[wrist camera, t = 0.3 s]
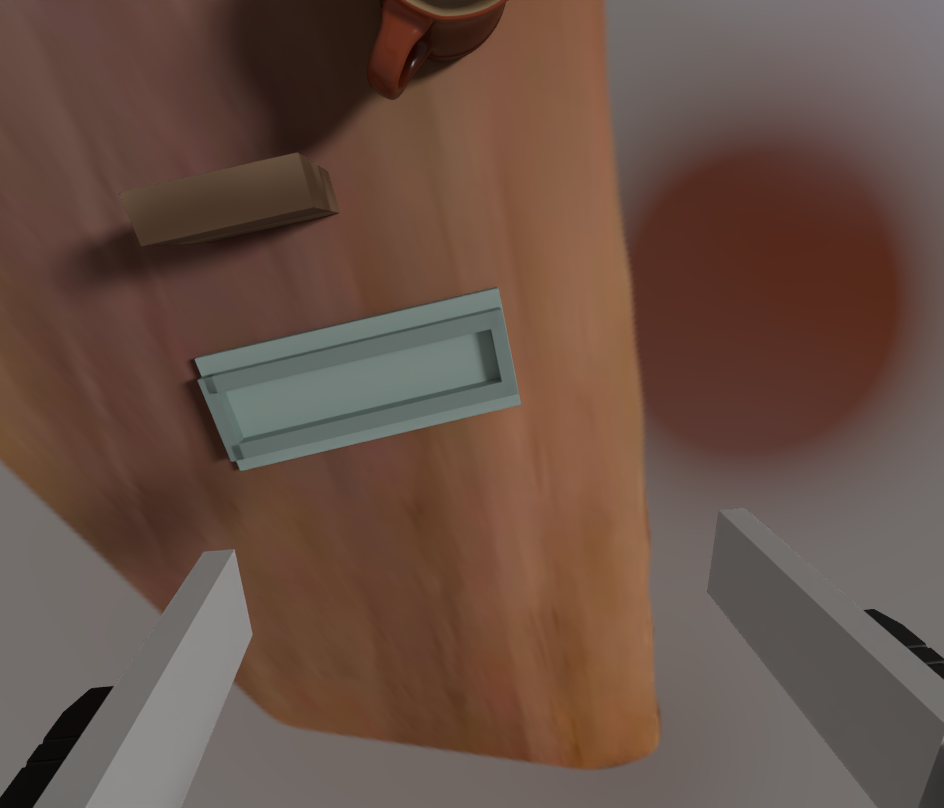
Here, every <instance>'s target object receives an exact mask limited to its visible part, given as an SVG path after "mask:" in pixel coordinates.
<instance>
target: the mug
mask: <svg viewBox="0 0 944 808" xmlns="http://www.w3.org/2000/svg"><path fill="white" fill-rule="evenodd" d="M506 1H508V0H380V3H381V6H382V20H381V25H380V29H379V32H378V35H377V37H376V40H375V43H374V45H373V48H372V51H371V55H370V58H369V62H368V68H367V77H368V82H369V84H370V86H371V88H372V89H373V90H374V91H375V92H377V93H378V94H380V95H381V96H383V97H385V98H387V99H390V100H395V99H397V98H398V97H399V96H400V95H401V94H402V92H403V91H404V90H405V88H406V86H407V84H408V83H409V81H410V79H411V78H412V76H413V75H414V74H415V72H416V71H417V70H418V69H419V68H420V67H421V65H422V64H423V63H424V61H425V60H426V58H427V59H430V60H432V61H437V62H444V61H452V60H456V59H459V58H462V57H464V56H466V55H468V54H470V53H472V52H473V51H475V50H476V49H477V48H479V47H480V46H481V45H482V44H483V43H484V42H485V41H486V40H487V39H488V37H489V36H490V35H491V34H492V32H493V31H494V29H495V28H496V26H497V24H498V23H499V21H500V18H501V16H502V14H503V10H504V7H505V3H506Z"/></svg>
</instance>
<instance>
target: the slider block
mask: <svg viewBox="0 0 944 808" xmlns="http://www.w3.org/2000/svg"><path fill="white" fill-rule="evenodd" d="M119 195H120V197H121V199H122V202H123V204H124V207H125V209H126V212H127V214H128V216H129V219H130V221H131V224H132V226H133V228H134V231H135V233H136V236H137V238H138V240H139V243H140V245H141V246H159V245H176V244H194V243H210V242H214V241H218V240H223V239H227V238H232V237H236V236H240V235H245V234H249V233H254V232H258V231H262V230H267V229H271V228H275V227H280V226H284V225H289V224H293V223H297V222H302V221H306V220H310V219H315V218H319V217H324V216H328V215H332V214H337V213H340V212H339V209H338V205H337V202H336V198H335V195H334V191H333V188H332V184H331V181H330V177H329V174H328V172H327V171H326V170H324V169H323V168H321V167H320V166H318V165H316V164H315V163H313V162H312V161H310V160H309V159H307V158H305V157H304V156H302V155H301V154H299V153H298V152H297V153H293V154H288V155H284V156H279V157H275V158H270V159H266V160H262V161H257V162H253V163H248V164H244V165H239V166H235V167H230V168H226V169H222V170H217V171H213V172H208V173H204V174H199V175H195V176H191V177H186V178H182V179H177V180H173V181H168V182H164V183H159V184H155V185H151V186H146V187H142V188H137V189H133V190H128V191H124V192H120V193H119Z"/></svg>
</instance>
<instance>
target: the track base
mask: <svg viewBox="0 0 944 808" xmlns="http://www.w3.org/2000/svg"><path fill="white" fill-rule="evenodd" d="M195 362H196V364H197V367H198V369H199V371H200V374H201V376H202V377H201V378H200V379H198V380H197V381H198V383H199V385H200V388H201V390H202V393H203V395H204V397H205V400H206V402H207V405H208V407H209V410H210V412H211V414H212V417H213V419H214V422H215V424H216V426H217V429H218V431H219V434H220V436H221V438H222V441H223V443H224V446H225V448H226V451H227V453H228V455H229V458H230V460H231V462H233V461H236V462H237V464H238V466H239V469H240V471H243V470H247V469H251V468H255V467H259V466H264V465H268V464H272V463H276V462H281V461H285V460H289V459H293V458H297V457H302V456H306V455H310V454H314V453H318V452H323V451H327V450H331V449H335V448H339V447H344V446H348V445H352V444H356V443H361V442H365V441H369V440H373V439H377V438H382V437H386V436H390V435H394V434H398V433H403V432H407V431H411V430H415V429H420V428H424V427H428V426H432V425H436V424H441V423H445V422H449V421H453V420H457V419H462V418H466V417H470V416H474V415H479V414H483V413H487V412H491V411H495V410H500V409H504V408H508V407H512V406H516V405H521V401H520V396H519V391H518V386H517V381H516V376H515V371H514V366H513V361H512V355H511V350H510V345H509V340H508V335H507V330H506V325H505V320H504V314H503V309H502V304H501V299H500V294H499V289H498V287H494V288H490V289H486V290H482V291H477V292H473V293H469V294H464V295H460V296H456V297H451V298H447V299H443V300H439V301H434V302H430V303H426V304H421V305H417V306H413V307H408V308H404V309H400V310H396V311H391V312H387V313H383V314H378V315H374V316H370V317H365V318H361V319H357V320H353V321H348V322H344V323H340V324H335V325H331V326H327V327H322V328H318V329H314V330H310V331H305V332H301V333H297V334H292V335H288V336H284V337H279V338H275V339H271V340H267V341H262V342H258V343H254V344H249V345H245V346H241V347H236V348H232V349H228V350H224V351H219V352H215V353H211V354H206V355H202V356H198V357H197V358H195Z"/></svg>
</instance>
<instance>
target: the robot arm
mask: <svg viewBox="0 0 944 808" xmlns="http://www.w3.org/2000/svg"><path fill="white" fill-rule="evenodd" d="M707 592H708V593H709V595H710V596H711V597H712V598H713V600H714V601H715V602H716V604H717V605H718V606H719V607H720V609H721V610H722V611H723V612H724V614H725V615H726V616H727V618H728V619H729V620H730V621H731V623H732V624H733V625H734V626H735V628H736V629H737V630H738V631H739V633H740V634H741V635H742V637H743V638H744V639H745V640H746V642H747V643H748V644H749V645H750V647H751V648H752V649H753V650H754V652H755V653H756V654H757V655H758V657H759V658H760V659H761V661H762V662H763V663H764V664H765V666H766V667H767V668H768V669H769V671H770V672H771V673H772V674H773V676H774V677H775V678H776V680H778V682H779V683H780V684H781V686H782V687H783V688H784V690H785V691H786V692H787V693H788V695H789V696H790V697H791V699H792V700H793V701H794V702H795V704H796V705H797V706H798V707H799V709H800V710H801V711H802V712H803V714H804V715H805V716H806V718H807V719H808V720H809V721H810V723H811V724H812V725H813V726H814V728H815V729H816V730H817V731H818V733H819V734H820V735H821V737H822V738H823V739H824V740H825V742H826V743H827V744H828V745H829V747H830V748H831V749H832V750H833V752H834V753H835V754H836V756H837V757H838V758H839V759H840V760H841V762H842V763H843V764H844V766H845V767H846V768H847V769H848V771H849V772H850V773H851V774H852V776H853V777H854V778H855V780H856V781H857V782H858V783H859V785H860V786H861V787H862V788H863V790H864V791H865V792H866V793H867V795H868V796H869V797H870V799H871V800H872V801H873V802H874V804H875V805H876V806H877V807H878V808H944V658H942V657H941V656H940V655H939V654H938V653H936V652H935V651H934V650H933V649H932V648H927V646H926V644H925V643H924V642H923V641H922V640H920V639H919V638H918V637H917V636H916V635H914V634H913V633H912V632H911V631H909V630H908V629H907V628H906V627H905V626H903V625H902V624H900V623H898V622H897V621H895V620H893V619H891V618H889V617H888V616H886V615H884V614H882V613H880V612H878V611H877V610H875V609H869V610H862V609H861V608H860V607H859V606H858V605H857V604H855V603H854V602H853V601H852V600H851V599H849V598H848V597H847V596H846V595H845V594H844V593H843V592H841V591H840V590H839V589H838V588H837V587H836V586H834V585H833V584H832V583H831V582H830V581H829V580H827V579H826V578H825V577H824V576H823V575H821V573H819V572H818V571H817V570H816V569H815V568H814V567H812V566H811V565H810V564H809V563H808V562H807V561H805V560H804V559H803V558H802V557H801V556H799V554H797V553H796V552H795V551H794V550H793V549H792V548H790V547H789V546H788V545H787V544H786V543H785V542H783V541H782V540H781V539H780V538H779V537H778V536H776V535H775V534H774V533H773V532H772V531H771V530H769V529H768V528H767V527H766V526H765V525H764V524H763V523H761V522H760V521H759V520H758V519H757V518H755V517H754V516H753V515H752V514H751V513H750V512H749V511H747V510H746V509H745V508H741V509H729V510H719V512H718V519H717V526H716V533H715V540H714V548H713V555H712V561H711V569H710V576H709V583H708V591H707ZM251 637H252V630H251V625H250V621H249V616H248V611H247V606H246V602H245V597H244V592H243V588H242V583H241V578H240V574H239V569H238V564H237V559H236V555H235V550H221V551H209V552H203V554H202V555H201V557H200V558H199V560H198V561H197V563H196V564H195V566H194V567H193V569H192V570H191V572H190V573H189V575H188V576H187V578H186V579H185V581H184V582H183V584H182V585H181V587H180V588H179V590H178V591H177V593H176V594H175V596H174V597H173V599H172V600H171V602H170V603H169V605H168V606H167V608H166V609H165V611H164V612H163V614H162V615H161V617H160V618H159V620H158V621H157V623H156V624H155V626H154V627H153V629H152V630H151V632H150V633H149V635H148V636H147V638H146V639H145V641H144V642H143V644H142V645H141V647H140V648H139V650H138V651H137V653H136V654H135V656H134V657H133V659H132V660H131V662H130V663H129V665H128V666H127V668H126V669H125V671H124V672H123V674H122V675H121V677H120V678H119V680H118V681H117V683H116V684H115V686H110V687H99V688H91V689H90V690H88V691H87V692H86V693H85V694H84V695H83V696H81V697H80V698H79V699H78V700H77V701H76V702H75V703H73V704H72V705H71V706H70V707H69V708H67V709H66V710H65V711H64V712H63V713H62V714H61V716H60V717H59V719H58V720H57V721H56V723H55V724H54V725H53V727H52V728H51V729H50V731H49V732H48V734H47V735H46V736H45V738H44V741H43V744H40V745H39V746H38V747H37V748H36V750H35V751H34V753H33V754H32V755H31V757H30V758H29V759H28V761H27V765H26V767H25V768H22V769H21V770H20V771H19V773H18V774H17V776H16V777H15V778H14V780H13V781H12V782H11V784H10V785H9V786H8V788H7V789H6V791H5V792H4V793H3V795H2V796H1V797H0V808H181V807H182V804H183V802H184V799H185V797H186V794H187V792H188V789H189V787H190V785H191V782H192V780H193V777H194V775H195V772H196V770H197V768H198V765H199V763H200V761H201V758H202V756H203V753H204V751H205V748H206V746H207V743H208V741H209V739H210V736H211V734H212V731H213V729H214V727H215V724H216V722H217V719H218V717H219V714H220V712H221V710H222V707H223V705H224V702H225V700H226V697H227V695H228V693H229V690H230V688H231V685H232V683H233V680H234V678H235V676H236V673H237V671H238V668H239V666H240V663H241V661H242V659H243V656H244V654H245V651H246V649H247V647H248V644H249V642H250V639H251Z"/></svg>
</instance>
